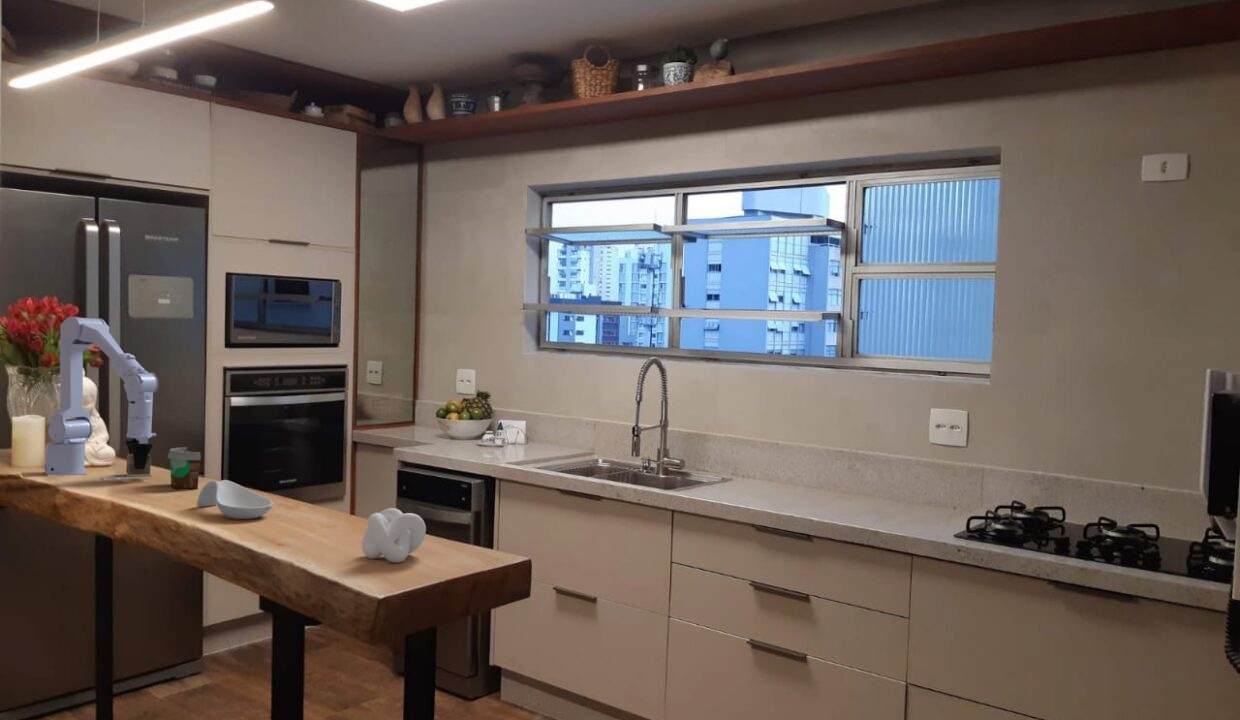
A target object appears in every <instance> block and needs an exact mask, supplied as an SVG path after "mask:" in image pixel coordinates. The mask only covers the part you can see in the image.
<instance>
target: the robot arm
mask: <svg viewBox="0 0 1240 720" xmlns="http://www.w3.org/2000/svg"><path fill="white" fill-rule="evenodd" d="M59 329H60V333H59V334H60V336H59V337H60V339H59V340H60V343H59V376H60V377H59V386H60V387H59V389H60V390H59V393H60V394H59V397H60V399H59V404H60V405H59V406H60V407H59V408H58V409H57V410H56V411H54V412H53V413H52V414H50V423H49V426H48V429H47V430H48V431H47V432H48V437H49V439H50V440H51V441H52V442H50V443H49V442H48V443H46V446H45V463H44V468H43V469H44V473H45V472H46V474H47V475H56V476H55V477H59V476H61V477H64V476H65V475H66V476H83V475H84V476H86V475H88V473H87V472H86V470H85V463H86V462H85V459H86V443H88V442H89V439H90V438H91V437H92V435H93V433H94V426H93V423H92V420H91V413H90V411H88V410H86V408H85V407H84V370H83V369H84V360H83V358H84V355H83V354H84V353H83V352H84V351H85V350H87V348H88V347H92V346H93V345H94V344H95V345H96V346H98V349H100V350H101V351H102V352H103V353H104V354H105V355H106V356H107V357H108V358H109V359H110V360H111V368H112V369H113V370H114V372H116V374H117V375H118V376H119V377H120V378H121V380H122V381H123V382H124V383H123V388H124V390H125V392H126V399H127V401H128V409H127V411H128V414H127V433H126V438H130V440H125V441H124V443H125V445H126V447H127V449H128V452H129V453H128V454H133V458H134V466H135V469H144V468H145V465H146V461H147V457H148V454H149V455H150V452H151V450H152V448H153V446H154V443H152V442H151V443H149V442H150V440H149V439H150V438H152V437H156V436H157V433H156V432H152V428H153V427H152V424H153V423H152V421H153V404H154V403H153V401H154V393H156V392H157V390H158V388H159V379H158V377H157V376H156V374H155V373H154V372H149V371H147V370H146V369H145V368H144V367H143V366H142V365H141V364H140V363H139V362H138V361H137V360H136V356H135V355H134V354H131V353H128V352H127V353H125V352H124V351H123V350H122V348H121V347H120V346H119V344H118V343H117V341H116V340H115V338H114V337H113V335H112V334H111V333H110V326H109V325H108V324H107V323H106V321H105V320H104V319H102V318H97V317H96V318H90V317H89V318H88V317H75V316H69V317H66V319H64V320H63V322H62V323H61V324H60V328H59ZM46 474H45V475H46ZM47 475H46V476H47ZM57 475H58V476H57Z"/></svg>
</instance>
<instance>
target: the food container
mask: <svg viewBox="0 0 1240 720" xmlns="http://www.w3.org/2000/svg"><path fill="white" fill-rule="evenodd" d="M167 459H169V463H170V464H169V465H170V486H171V489H173V488H177V489H176V490H180V489H189V490H188V491H193V490H192V489H197V490H199V488H198V486H199V475H200V464H201V463H200V461H201V459H202V457H201V451H191V450H190V451H189V450H188V447H187V446H185V447H184V446H183V447H174V448H170V449H169V451H168V454H167ZM190 489H191V490H190Z"/></svg>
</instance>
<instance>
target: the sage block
mask: <svg viewBox="0 0 1240 720" xmlns="http://www.w3.org/2000/svg"><path fill="white" fill-rule="evenodd" d="M151 465H152V459H151V460H150V471H151ZM126 474H128V473H127V472H126ZM128 475H129V474H128ZM150 475H151V473H150V474H137V475H129V476H130V477H129V478H135V477H134V476H145V477H151V476H150Z"/></svg>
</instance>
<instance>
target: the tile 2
mask: <svg viewBox="0 0 1240 720" xmlns="http://www.w3.org/2000/svg"><path fill="white" fill-rule="evenodd" d="M125 476H126V477H128V478H131V477H130V476H129V475H128V474H127V473H125ZM149 477H153V475H152V474H150V476H149ZM133 478H146V476H134V477H133Z"/></svg>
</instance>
